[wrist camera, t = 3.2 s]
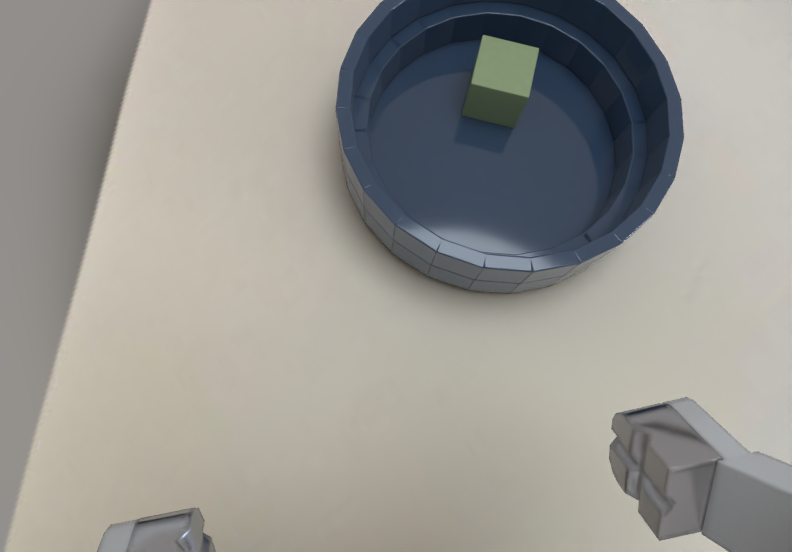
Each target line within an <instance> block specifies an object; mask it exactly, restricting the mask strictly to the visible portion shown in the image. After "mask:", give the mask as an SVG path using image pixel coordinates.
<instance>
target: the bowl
mask: <svg viewBox="0 0 792 552" xmlns="http://www.w3.org/2000/svg"><path fill="white" fill-rule="evenodd" d="M483 35H486V36H491V37H495V38H499V39H503V40H507V41H511V42H515V43H519V44H524V45H528V46H532V47H536V48H539V53H538V57H537V62H536V67H535V72H534V76H533V81H532V86H531V90H530V95H529V98H528V100H527V103H526V105H525V107H524V109H523V111H522V113H521V115H520V117H519V119H518V121H517V123H516V125H515V127H514V128H511V127H507V126H503V125H499V124H495V123H491V122H486V121H482V120H478V119H474V118H470V117H466V116H462V111H463V107H464V103H465V99H466V94H467V90H468V86H469V82H470V78H471V74H472V70H473V67H474V63H475V60H476V56H477V53H478V49H479V46H480V42H481V39H482V36H483ZM336 117H337V125H338V133H339V141H340V149H341V156H342V161H343V167H344V172H345V178H346V183H347V187H348V190H349V192H350V194H351V196H352V198H353V200H354V202H355V204H356V206H357V208H358V210H359V212H360V214H361V216H362V218H363V220H364V221H365V222H366V224H367V225H368V226H369V228H370V229H371V230H372V231H373V232H374V233H375V234H376V235H377V237H378V238H379V239H380V240H381V241H382V242H383V243H384V244H385V246H386V247H387V248H388V249H389V250H390V251H391V252H393V254H395V255H396V256H398V257H399V258H401V259H402V260H404V261H405V262H407V263H408V264H410V265H411V266H413V267H414V268H416V269H417V270H419V271H420V272H422V273H423V274H425V275H428V276H429V277H432V278H435V279H437V280H440V281H443V282H446V283H449V284H452V285H455V286H458V287H461V288H464V289H468V290H474V291H487V292H499V293H515V292H520V291H526V290H531V289H537V288H542V287H548V286H551V285H553V284H555V283H557V282H560V281H562V280H564V279H566V278H568V277H570V276H572V275H574V274H576V273H578V272H580V271H582V270H584V269H586V268H587V267H589V266H590V265H592V264H593V263H595V262H596V261H598V260H599V259H600V258H602V257H603V256H605V255H606V254H607V253H609V252H610V251H612V250H613V249H615V248H616V247H618V246H619V245H620V244H622V243H623V242H624V241H625V240H626V239H627V238H629V237H630V236H631V235H632V234H633V233H634V232H635V231H636V230H637V229H638V228H640V227H641V226H642V225H643V224H644V223H645V222H646V221H647V220H648V219H649V218H651V217H652V215H653V214H654V213H655V212H656V210H657V208H658V206H659V205H660V203H661V201H662V200H663V198H664V196H665V194H666V193H667V191H668V189H669V188H670V186H671V184H672V182H673V181H674V178H675V175H676V170H677V166H678V162H679V157H680V153H681V148H682V144H683V138H684V133H683V119H682V105H681V98H680V94H679V92H678V89H677V86H676V83H675V81H674V78H673V75H672V72H671V70H670V67H669V64H668V61H667V60H666V58H665V56H664V55H663V54H662V52H661V51H660V49H659V48H658V46H657V45H656V43H655V42H654V40H653V39H652V37H651V36H650V35H649V33H648V32H647V30H646V29H645V27H644V26H643V24H641V23H640V22H639V21H638V20H637V19H636V18H635V17H634V16H633V15H632V14H630V13H629V12H628V11H627V10H626V9H625V8H624V7H623V6H622V5H620V4H619V3H618V2H617V1H616V0H383V1H382V2H381V3H380V4H379V5H378V6H377V7H376V9H375V10H374V11H373V12H372V13H371V15H370V16H369V17H368V18H367V19H366V21H365V22H364V23H363V24H362V25H361V27H360V28H359V29H358V30H357V32H356V33H355V35H354V38H353V40H352V42H351V45H350V47H349V49H348V52H347V54H346V56H345V59H344V61H343V63H342V65H341V69H340V74H339V83H338V92H337V101H336Z"/></svg>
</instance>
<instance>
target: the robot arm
mask: <svg viewBox="0 0 792 552" xmlns="http://www.w3.org/2000/svg"><path fill="white" fill-rule="evenodd" d="M611 429H612V430H613V431H614V433H615V434H616V435H617V437H616V438H615V440H614V441H613V442H612V443H611V445H610V452H609V460H610V464H611V468H612V472H613V474H614V476H615V478H616V480H617V482H618V484H619V485H620V487H621V488H622V490H623V491H624V492H625V493H626V494H628V495H630V496H631V497H633V498H635V499H637V500H639V507H638V512H639V513H640V515H641V516H642V518H643V519H644V520H645V522H646V523H647V525H648V526H649V527H650V529H651V530H652V531H653V533H654V534H655V536H656V537H657V538H658V540H659V541H661V540H665V539H670V538H674V537H679V536H683V535H688V534H692V533H697V532H701V531H702V535H704V536H706V537H707V538H709V539H710V540H712V541H713V542H715V543H716V544H718V545H720V546H721V547H723V548H724V549H726V550H727V551H729V552H792V465H790V464H787V463H785V462H782V461H780V460H777V459H775V458H772V457H770V456H767V455H765V454H762V453H760V452H754V453H750V452H749V451H748V450H747V449H746V448H744V447H743V446H742V445H741V444H740V443H739V442H738V441H737V440H736V439H735V438H734V437H733V436H732V435H730V434H729V433H728V432H727V431H726V430H725V429H724V428H723V427H722V426H721V425H720V424H719V423H718V422H716V421H715V420H714V419H713V418H712V417H711V416H710V415H709V414H708V413H707V412H706V411H705V410H704V409H702V408H701V407H700V406H699V405H698V404H697V403H696V402H695V401H694V400H692V399H690V398H687V397H685V398H680V399H676V400H672V401H667V402H663V403H658V404H654V405H650V406H646V407H641V408H637V409H633V410H629V411H624V412H620V413H616V414H615V416H614V418H613V420H612V428H611ZM204 521H205V520H204V518H203V516H202V514H201V511H200V509H199V508H190V509H185V510H180V511H175V512H170V513H165V514H159V515H154V516H149V517H144V518H140V519H137V520H132V521H127V522H122V523H116V524H111V525H110V526H109V527H108V529H107V530H106V531H105V532H104V534H103V537H102V540H101V542H100V545H99V548H98V551H97V552H216V551H215V547H214V544H213V541H212V538H211V537H210V536H208V535H206V534H204V533H203V527H204Z"/></svg>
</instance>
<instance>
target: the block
mask: <svg viewBox="0 0 792 552" xmlns="http://www.w3.org/2000/svg"><path fill="white" fill-rule="evenodd" d="M538 53H539V48H536V47H532V46H528V45H524V44H519V43H515V42H511V41H507V40H503V39H499V38H495V37H491V36H486V35H483V36H482V39H481V42H480V46H479V49H478V53H477V56H476V60H475V63H474V67H473V70H472V74H471V78H470V82H469V86H468V90H467V94H466V99H465V103H464V107H463V111H462V116H466V117H470V118H474V119H478V120H482V121H486V122H491V123H495V124H499V125H503V126H507V127H511V128H514V127H515V125H516V123H517V121H518V119H519V117H520V115H521V113H522V111H523V109H524V107H525V105H526V103H527V100H528V98H529V95H530V90H531V86H532V81H533V76H534V72H535V67H536V62H537V57H538Z"/></svg>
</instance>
